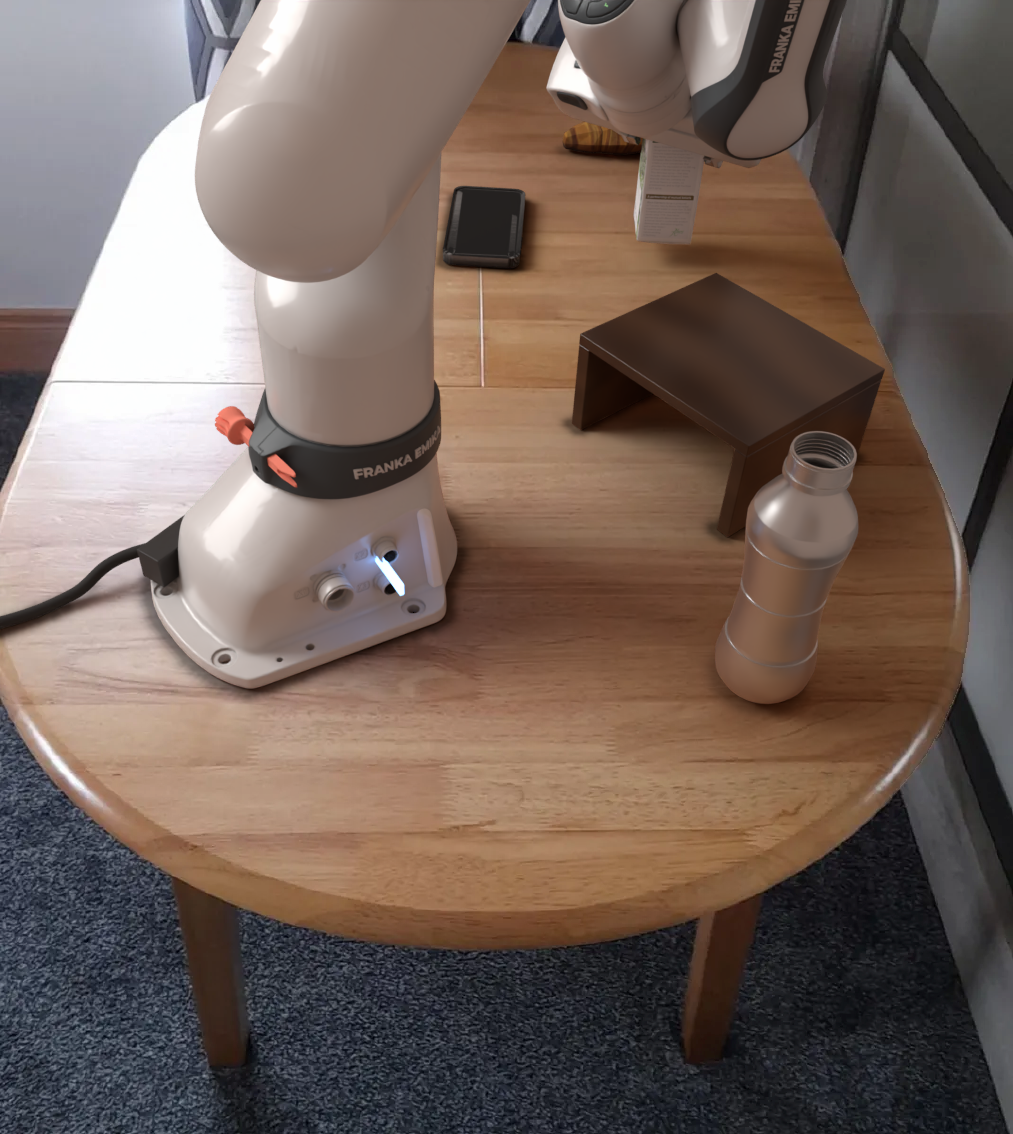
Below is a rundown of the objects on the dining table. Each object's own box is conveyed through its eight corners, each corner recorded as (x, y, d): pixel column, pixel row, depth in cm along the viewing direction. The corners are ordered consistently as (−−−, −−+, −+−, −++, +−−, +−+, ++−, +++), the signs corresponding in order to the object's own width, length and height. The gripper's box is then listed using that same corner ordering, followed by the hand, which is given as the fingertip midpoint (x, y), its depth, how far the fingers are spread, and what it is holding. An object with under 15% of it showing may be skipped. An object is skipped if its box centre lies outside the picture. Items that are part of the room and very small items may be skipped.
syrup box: (692, 246, 117) (717, 102, 107) (633, 242, 117) (653, 98, 107) (686, 218, 121) (710, 77, 111) (630, 215, 121) (649, 74, 111)
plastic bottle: (818, 715, 77) (901, 486, 63) (718, 718, 77) (779, 488, 63) (794, 642, 82) (865, 414, 68) (699, 646, 81) (752, 416, 68)
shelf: (727, 537, 90) (749, 446, 83) (571, 423, 99) (579, 333, 93) (857, 458, 97) (885, 368, 91) (700, 359, 107) (716, 272, 101)
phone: (441, 254, 116) (454, 184, 127) (441, 264, 117) (454, 194, 128) (520, 259, 116) (526, 189, 127) (520, 269, 117) (526, 198, 127)
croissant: (566, 164, 134) (569, 122, 131) (556, 138, 139) (559, 97, 136) (680, 161, 136) (686, 119, 132) (666, 136, 141) (672, 94, 137)
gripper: (773, 73, 97) (788, 144, 110) (556, 18, 103) (595, 92, 117) (743, 144, 97) (761, 207, 110) (529, 85, 104) (571, 151, 117)
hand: (674, 147), depth 113 cm, fingers closed on syrup box, 7 cm apart
